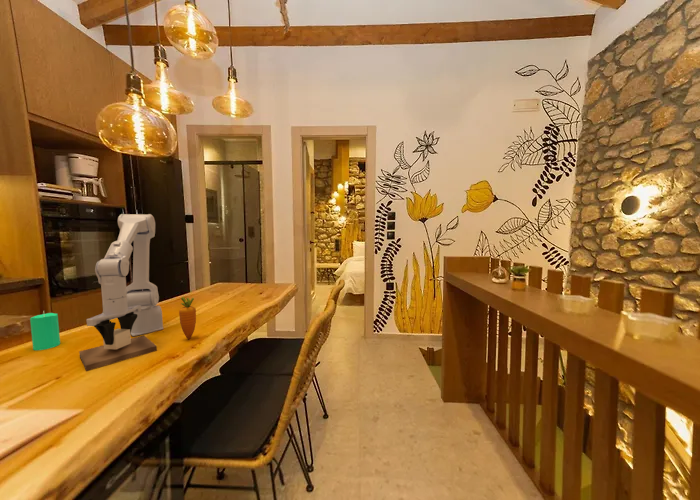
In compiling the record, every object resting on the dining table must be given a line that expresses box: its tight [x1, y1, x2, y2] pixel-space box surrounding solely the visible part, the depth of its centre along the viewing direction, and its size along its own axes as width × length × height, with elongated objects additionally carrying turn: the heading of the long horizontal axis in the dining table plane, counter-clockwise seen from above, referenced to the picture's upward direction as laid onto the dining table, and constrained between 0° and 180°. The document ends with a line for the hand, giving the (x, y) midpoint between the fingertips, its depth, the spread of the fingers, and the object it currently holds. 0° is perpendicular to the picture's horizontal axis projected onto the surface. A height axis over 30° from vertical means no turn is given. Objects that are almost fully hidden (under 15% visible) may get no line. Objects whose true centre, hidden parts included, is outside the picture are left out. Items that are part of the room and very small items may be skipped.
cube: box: [102, 328, 132, 349], centre depth 83 cm, size 4×4×4 cm
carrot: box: [178, 296, 197, 340], centre depth 93 cm, size 5×5×15 cm
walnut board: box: [78, 334, 158, 372], centre depth 83 cm, size 16×14×2 cm
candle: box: [29, 310, 61, 351], centre depth 89 cm, size 6×6×12 cm
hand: (118, 340), depth 83 cm, fingers closed on cube, 4 cm apart
